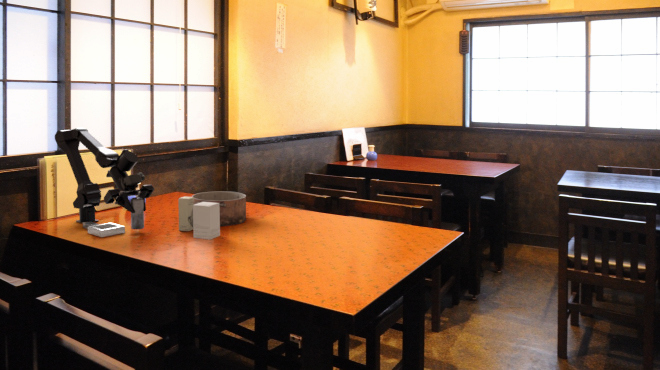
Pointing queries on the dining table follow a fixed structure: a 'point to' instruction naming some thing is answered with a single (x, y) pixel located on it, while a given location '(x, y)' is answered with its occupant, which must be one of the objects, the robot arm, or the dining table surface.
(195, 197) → the cooking pot
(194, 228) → the supplement box
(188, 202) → the box
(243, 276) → the dining table surface
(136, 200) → the dark grey metal cylinder
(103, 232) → the square frame with handle
